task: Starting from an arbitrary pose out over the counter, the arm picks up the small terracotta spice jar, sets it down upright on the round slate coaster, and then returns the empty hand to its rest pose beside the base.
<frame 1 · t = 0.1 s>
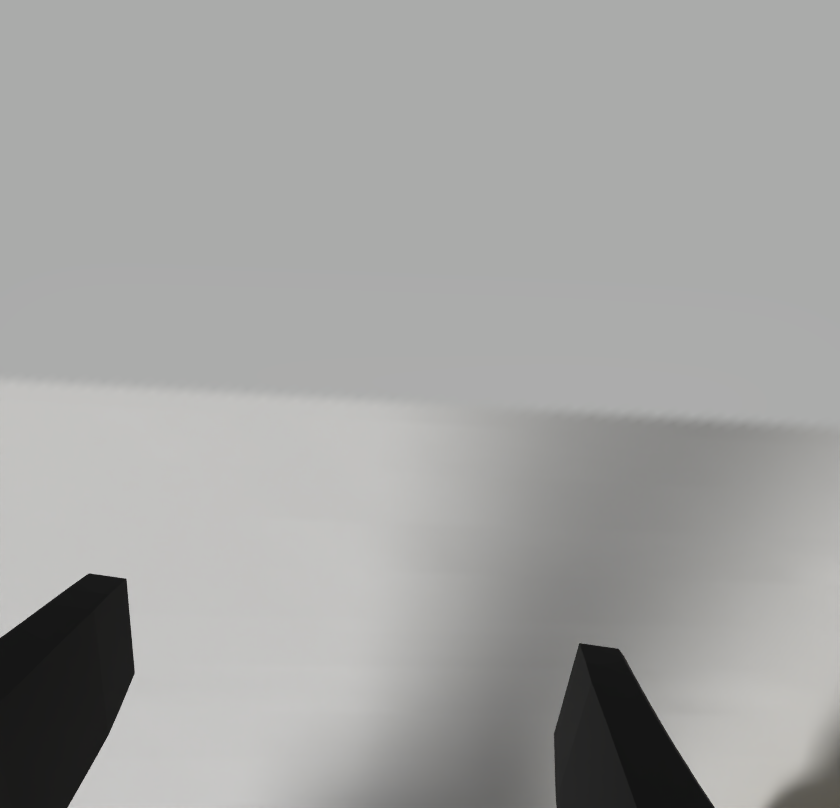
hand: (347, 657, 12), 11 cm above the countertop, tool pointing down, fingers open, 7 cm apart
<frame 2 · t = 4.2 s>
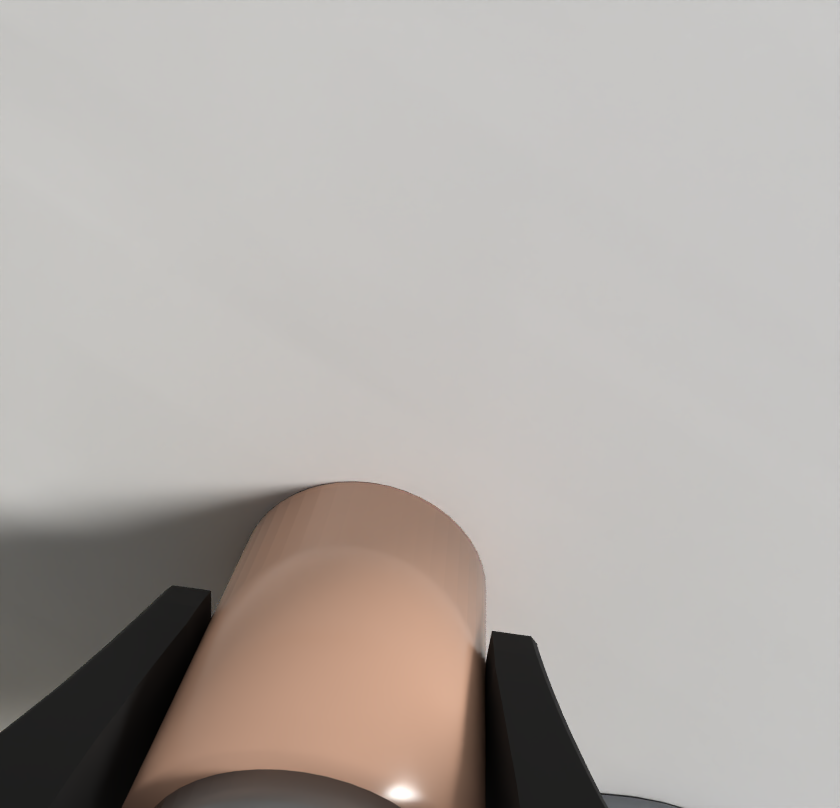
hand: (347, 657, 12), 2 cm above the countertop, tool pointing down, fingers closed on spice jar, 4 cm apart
spice jar: (363, 585, 13), on the countertop, touching gripper
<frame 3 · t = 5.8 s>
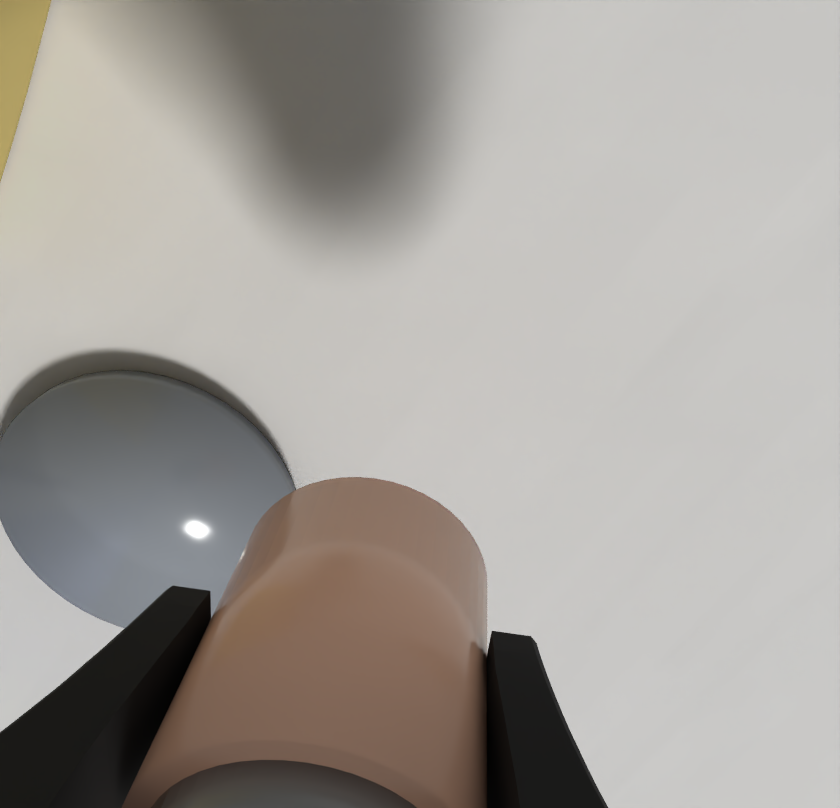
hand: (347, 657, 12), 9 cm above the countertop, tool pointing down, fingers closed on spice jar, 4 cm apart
spice jar: (364, 581, 13), point 7 cm above the countertop, touching gripper
coaster: (152, 508, 22), on the countertop
when the fingers open (3 cm above the countertop, at t = 7.9 s): spice jar stays where it is, resting on coaster.
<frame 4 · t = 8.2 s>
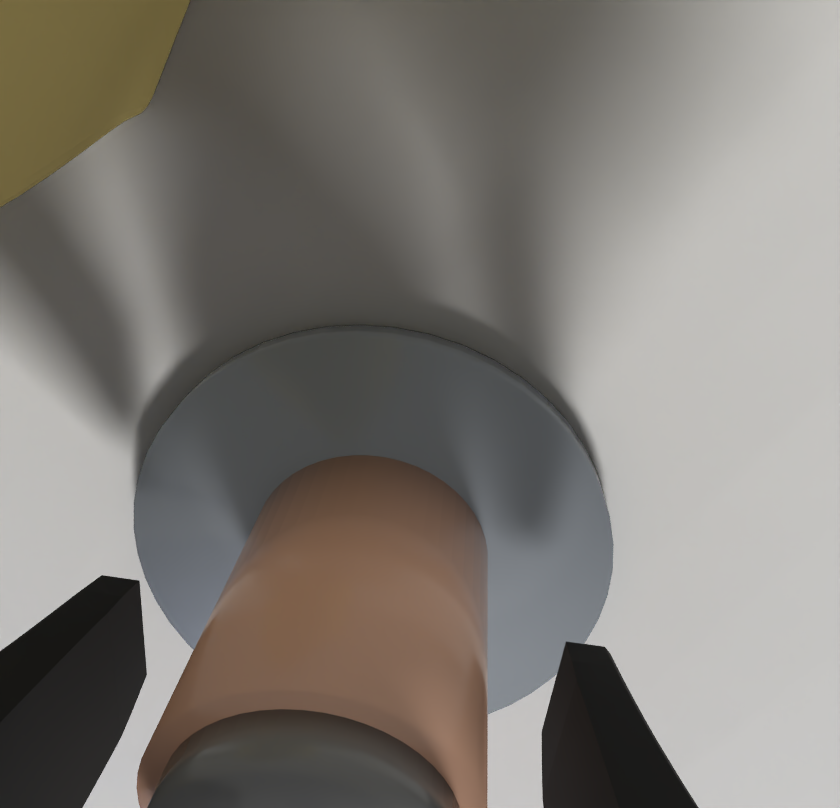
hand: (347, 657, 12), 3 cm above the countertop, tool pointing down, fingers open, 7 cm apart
spice jar: (370, 556, 14), point 1 cm above the countertop, touching coaster
coaster: (373, 542, 14), on the countertop
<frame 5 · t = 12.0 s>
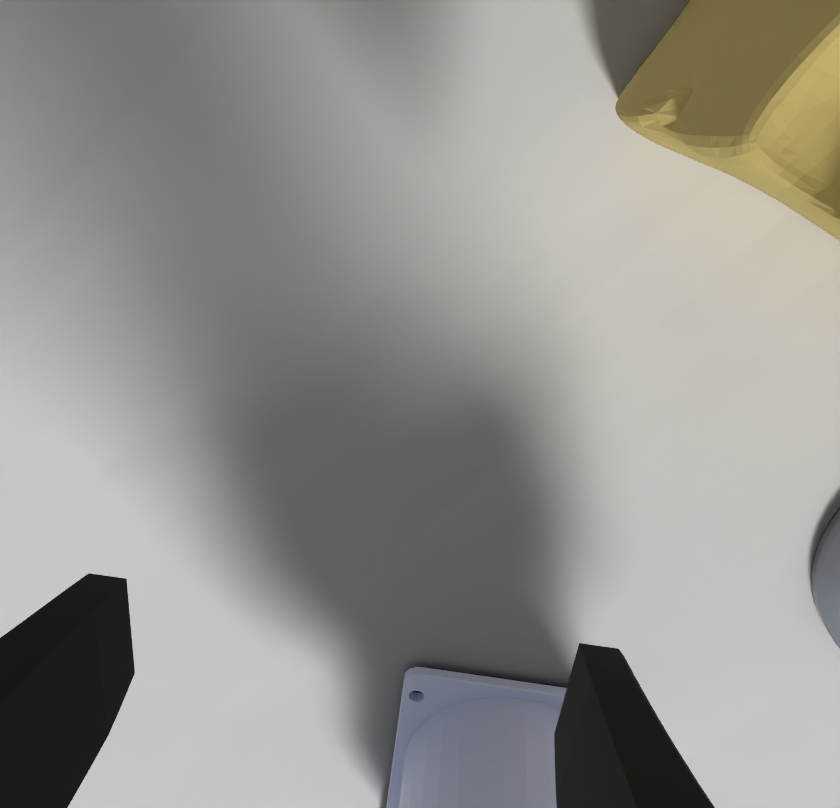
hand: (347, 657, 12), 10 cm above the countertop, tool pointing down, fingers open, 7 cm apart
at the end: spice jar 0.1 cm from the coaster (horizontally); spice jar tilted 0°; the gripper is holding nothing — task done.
